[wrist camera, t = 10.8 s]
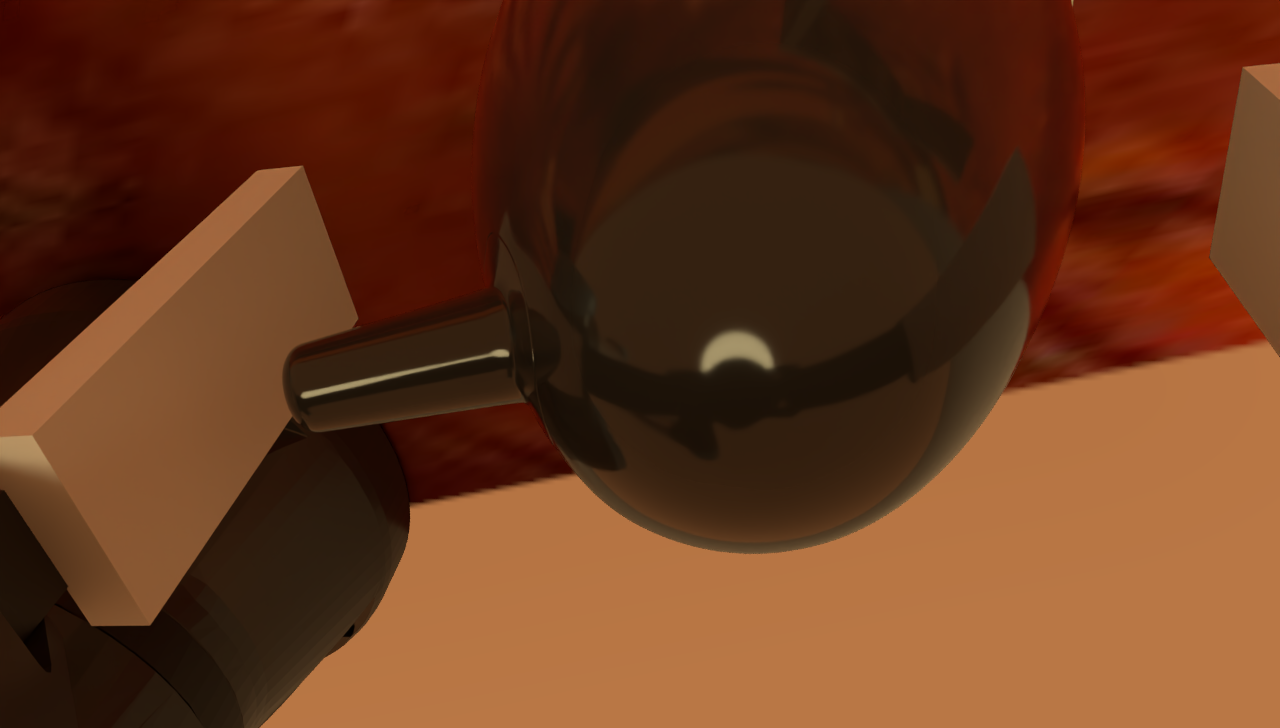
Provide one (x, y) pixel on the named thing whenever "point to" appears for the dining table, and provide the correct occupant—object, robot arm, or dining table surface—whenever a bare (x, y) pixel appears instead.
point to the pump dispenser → (744, 252)
